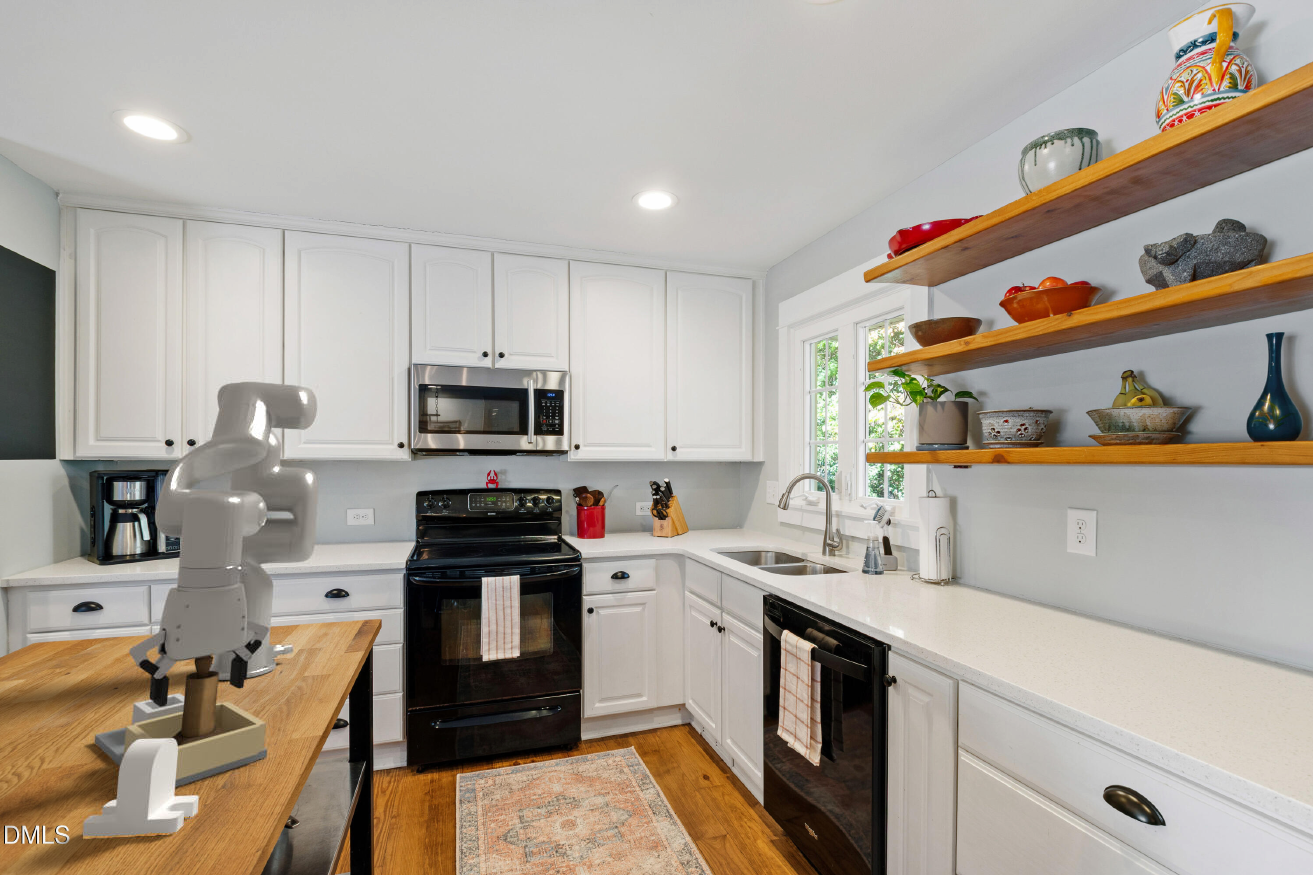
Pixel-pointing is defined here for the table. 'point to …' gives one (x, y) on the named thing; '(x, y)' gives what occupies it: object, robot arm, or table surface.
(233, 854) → the table surface
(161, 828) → the cable organizer
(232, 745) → the socket board
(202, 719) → the brown pepper mill
